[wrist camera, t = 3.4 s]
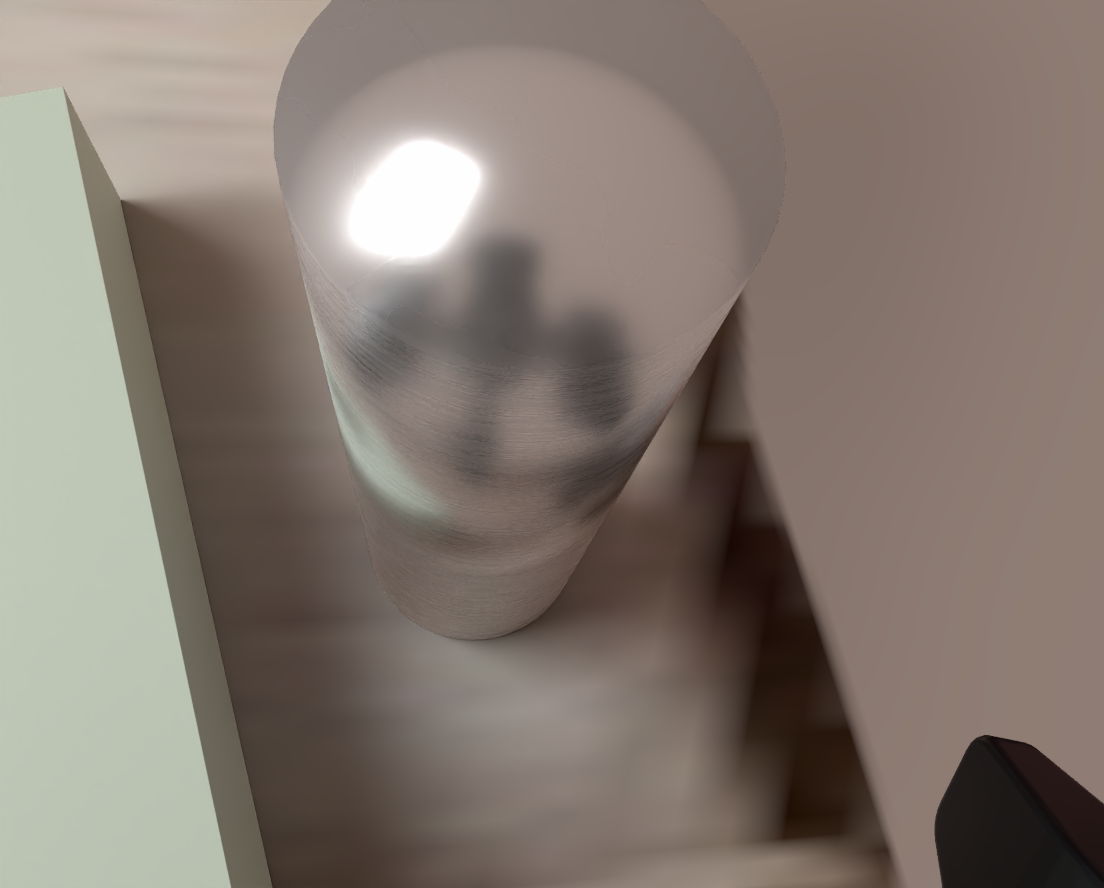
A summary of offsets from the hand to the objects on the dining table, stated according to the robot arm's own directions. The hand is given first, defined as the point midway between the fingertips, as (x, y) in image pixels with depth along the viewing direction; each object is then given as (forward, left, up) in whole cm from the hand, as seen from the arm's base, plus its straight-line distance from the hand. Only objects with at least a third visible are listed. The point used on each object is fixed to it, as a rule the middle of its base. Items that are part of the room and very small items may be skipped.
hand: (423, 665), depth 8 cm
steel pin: (+3, -2, -11) cm, 11 cm away
